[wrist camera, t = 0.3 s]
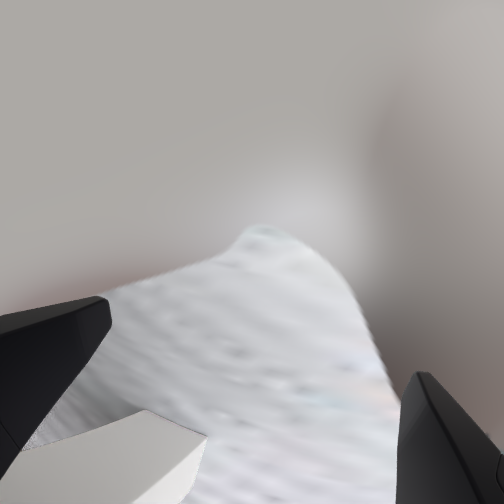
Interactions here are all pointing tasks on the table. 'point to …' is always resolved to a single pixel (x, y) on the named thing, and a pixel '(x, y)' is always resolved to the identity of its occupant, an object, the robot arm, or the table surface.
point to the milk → (109, 465)
